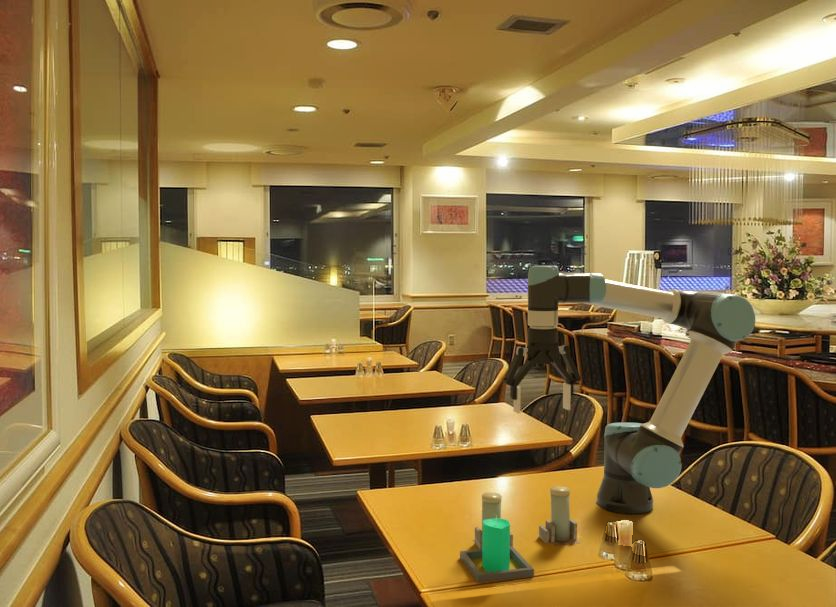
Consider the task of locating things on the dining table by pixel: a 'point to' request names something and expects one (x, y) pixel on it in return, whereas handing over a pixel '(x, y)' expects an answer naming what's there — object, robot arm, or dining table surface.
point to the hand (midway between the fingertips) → (542, 410)
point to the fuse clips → (544, 534)
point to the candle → (496, 545)
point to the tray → (496, 575)
